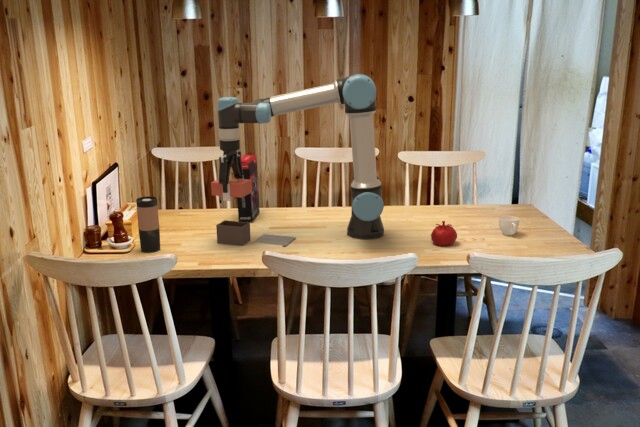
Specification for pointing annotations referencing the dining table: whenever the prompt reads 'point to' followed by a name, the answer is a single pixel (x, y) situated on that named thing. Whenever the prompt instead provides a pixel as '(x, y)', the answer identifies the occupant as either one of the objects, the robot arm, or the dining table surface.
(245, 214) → the graphics card box
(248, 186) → the lid
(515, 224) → the cup
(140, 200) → the travel mug
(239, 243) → the lacquer box
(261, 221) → the dining table surface
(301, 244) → the dining table surface
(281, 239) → the mat
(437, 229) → the pomegranate
